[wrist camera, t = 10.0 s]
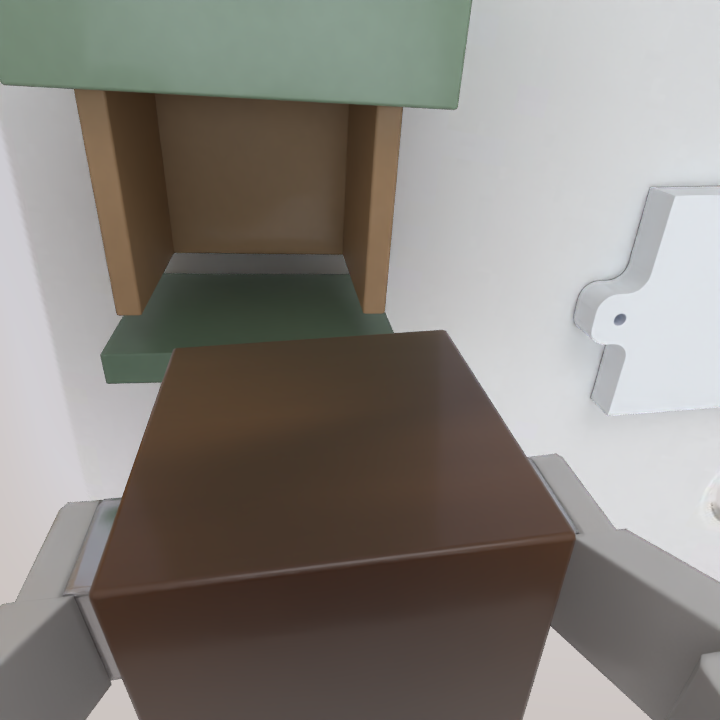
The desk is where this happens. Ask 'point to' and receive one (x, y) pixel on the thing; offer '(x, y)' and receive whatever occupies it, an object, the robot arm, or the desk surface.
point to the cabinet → (242, 48)
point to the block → (330, 539)
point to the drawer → (237, 218)
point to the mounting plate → (661, 310)
